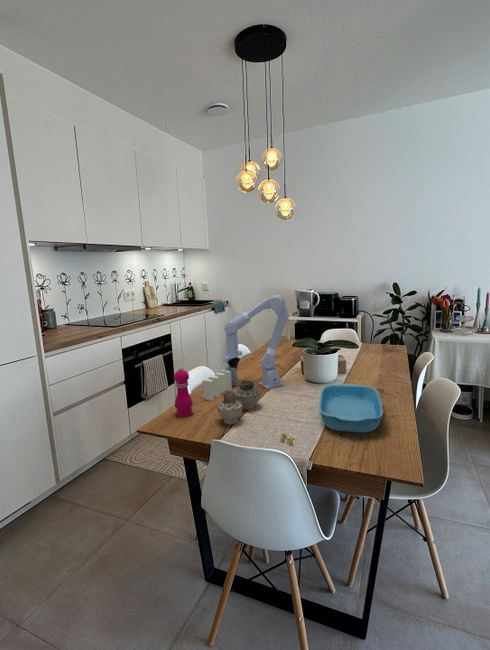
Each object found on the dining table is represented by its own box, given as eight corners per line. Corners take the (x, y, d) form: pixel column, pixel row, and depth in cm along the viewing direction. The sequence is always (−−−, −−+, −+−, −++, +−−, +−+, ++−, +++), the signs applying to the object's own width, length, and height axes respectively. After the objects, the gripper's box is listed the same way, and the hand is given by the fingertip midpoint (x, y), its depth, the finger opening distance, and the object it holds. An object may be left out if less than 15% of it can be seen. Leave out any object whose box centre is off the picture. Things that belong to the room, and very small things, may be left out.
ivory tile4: (212, 394, 163) (211, 375, 162) (220, 395, 161) (219, 376, 159) (210, 395, 162) (208, 376, 160) (218, 397, 159) (217, 378, 158)
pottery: (211, 424, 133) (209, 394, 131) (241, 400, 155) (240, 374, 153) (238, 429, 128) (236, 398, 126) (265, 403, 150) (264, 376, 148)
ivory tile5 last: (206, 397, 159) (204, 378, 158) (214, 399, 157) (213, 380, 155) (203, 399, 158) (202, 380, 156) (212, 400, 155) (210, 381, 154)
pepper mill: (197, 413, 143) (193, 366, 140) (182, 419, 138) (178, 370, 135) (186, 408, 148) (182, 363, 145) (171, 414, 143) (167, 367, 139)
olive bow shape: (292, 447, 115) (291, 442, 114) (277, 444, 117) (277, 439, 117) (297, 440, 119) (297, 435, 119) (283, 437, 122) (283, 432, 121)
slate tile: (230, 382, 177) (227, 366, 173) (238, 383, 174) (235, 367, 171) (228, 384, 175) (225, 368, 172) (236, 385, 173) (233, 369, 170)
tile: (218, 390, 167) (217, 372, 166) (226, 392, 165) (225, 373, 163) (216, 392, 166) (214, 373, 164) (224, 393, 163) (223, 374, 162)
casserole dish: (322, 396, 155) (322, 380, 154) (376, 399, 149) (376, 383, 148) (316, 437, 120) (316, 417, 119) (386, 442, 114) (387, 422, 113)
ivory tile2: (223, 387, 171) (222, 369, 170) (231, 388, 169) (230, 370, 167) (221, 388, 170) (220, 370, 168) (229, 390, 168) (228, 371, 166)
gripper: (233, 342, 180) (234, 367, 183) (217, 348, 168) (218, 375, 170) (245, 343, 177) (246, 369, 179) (229, 350, 164) (231, 377, 167)
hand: (233, 372), depth 174 cm, fingers closed
